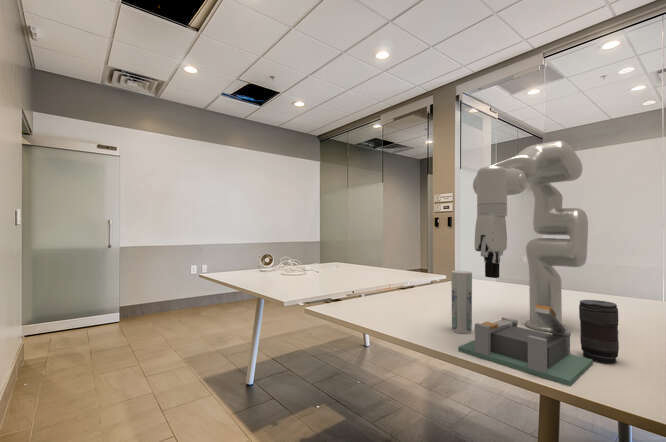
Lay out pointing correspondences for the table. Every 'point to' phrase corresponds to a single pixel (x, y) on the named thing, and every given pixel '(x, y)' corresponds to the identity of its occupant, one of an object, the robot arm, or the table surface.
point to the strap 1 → (498, 325)
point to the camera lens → (599, 330)
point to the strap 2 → (549, 318)
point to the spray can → (461, 301)
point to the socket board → (529, 352)
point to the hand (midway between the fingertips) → (492, 277)
